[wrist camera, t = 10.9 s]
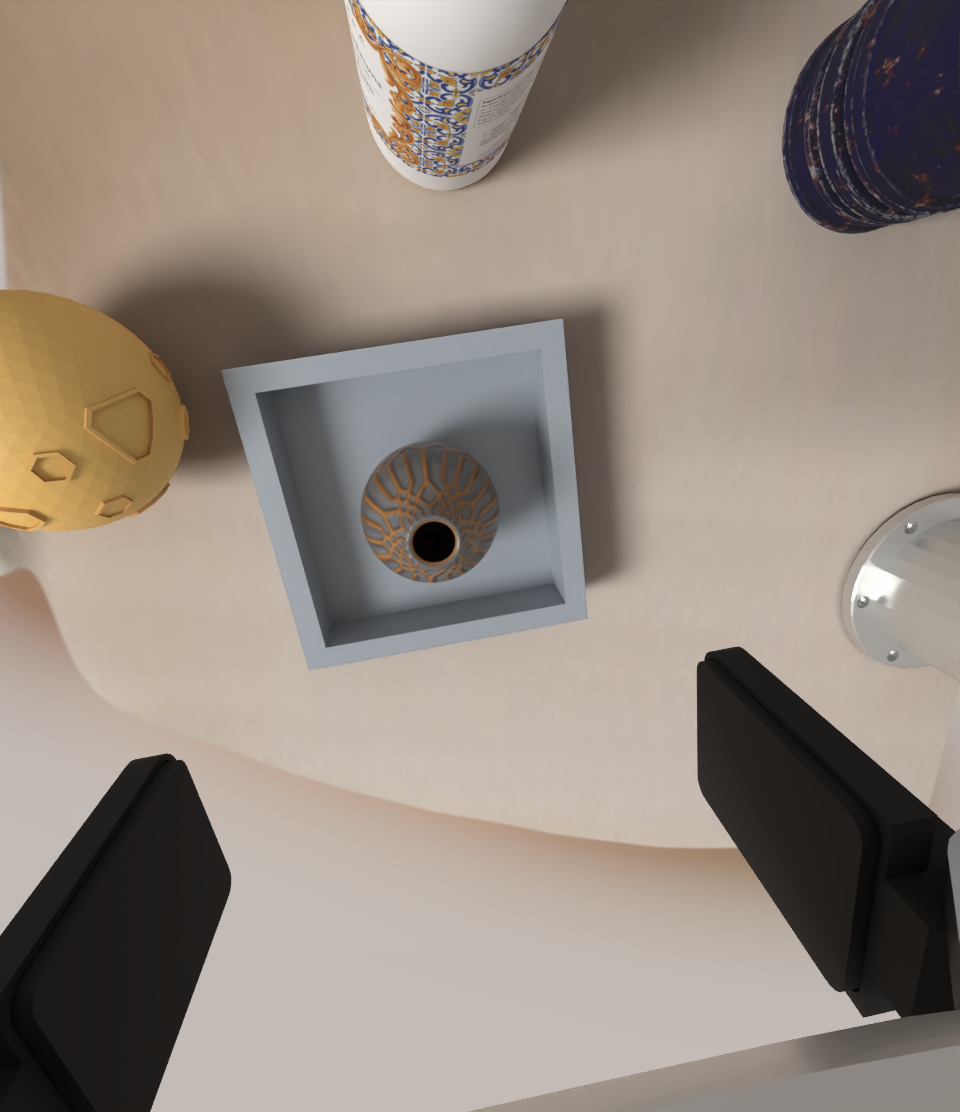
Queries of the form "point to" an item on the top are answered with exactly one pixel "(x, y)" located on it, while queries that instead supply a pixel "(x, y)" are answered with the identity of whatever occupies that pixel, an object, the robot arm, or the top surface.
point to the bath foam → (448, 79)
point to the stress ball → (80, 417)
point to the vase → (429, 512)
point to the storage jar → (878, 118)
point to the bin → (378, 430)
